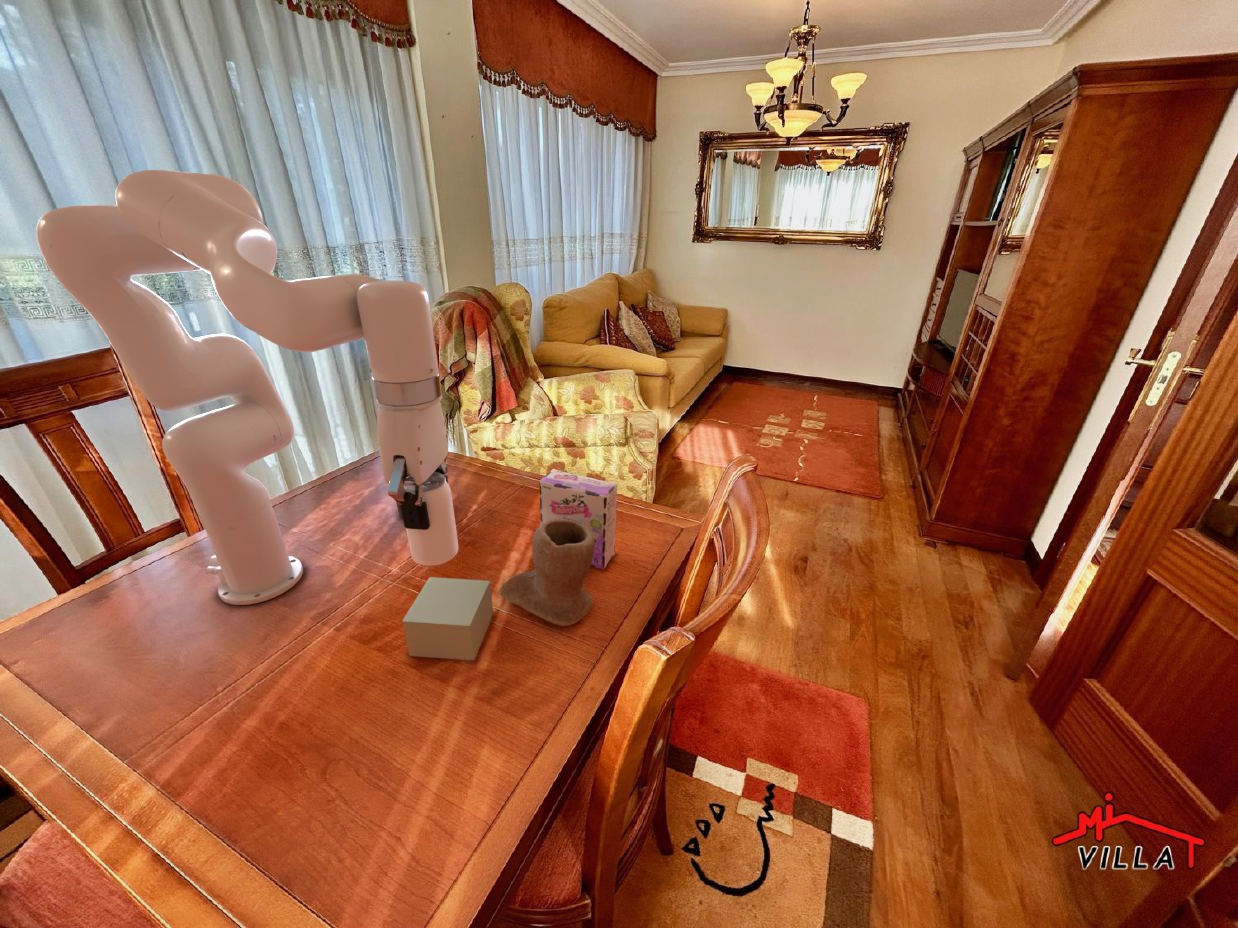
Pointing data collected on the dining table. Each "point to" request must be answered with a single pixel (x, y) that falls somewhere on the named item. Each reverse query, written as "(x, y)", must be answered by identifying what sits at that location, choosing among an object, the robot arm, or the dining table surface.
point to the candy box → (582, 508)
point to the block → (449, 618)
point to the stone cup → (555, 574)
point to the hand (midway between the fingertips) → (428, 512)
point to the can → (434, 524)
